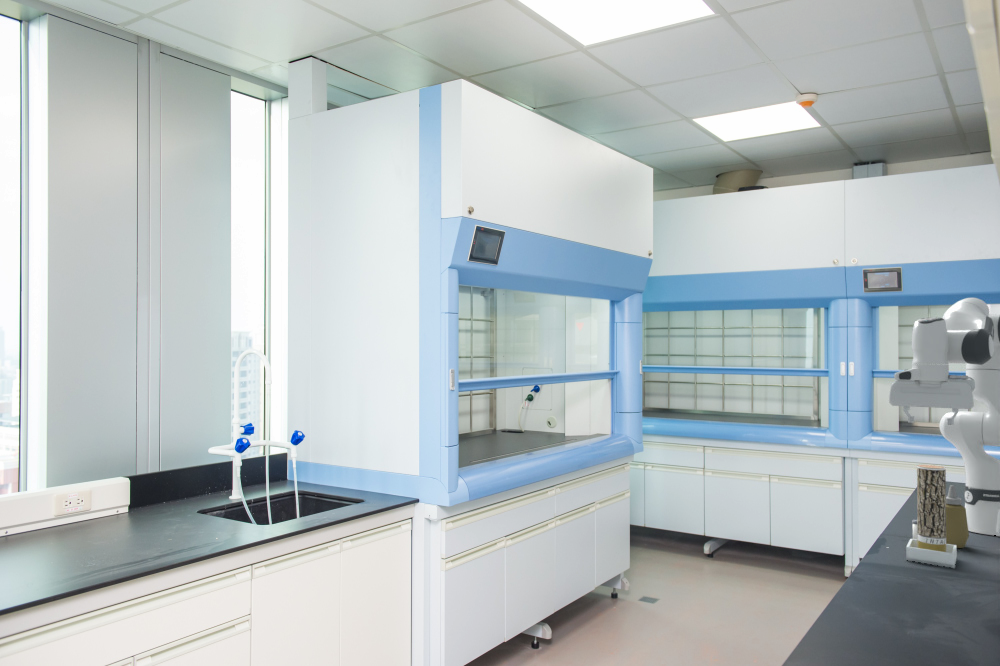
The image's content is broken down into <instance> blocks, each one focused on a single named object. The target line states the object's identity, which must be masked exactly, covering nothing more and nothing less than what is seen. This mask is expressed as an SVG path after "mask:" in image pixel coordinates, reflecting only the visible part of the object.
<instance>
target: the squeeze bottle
mask: <svg viewBox="0 0 1000 666" xmlns="http://www.w3.org/2000/svg"><path fill="white" fill-rule="evenodd" d="M956 490H957V489H956V486H955V485H949V488H948V493H947V495H946V544H951V545H957V549H963V548H965V547H966V545H967V542H968V539H969V538H970V534H969V532H970V531H968V524H967V516H966V508H965V506H964V505H963V503H962V502H963V499H962V498H960V497H958V494H957V491H956Z"/></svg>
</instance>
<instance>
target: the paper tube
mask: <svg viewBox="0 0 1000 666" xmlns="http://www.w3.org/2000/svg"><path fill="white" fill-rule="evenodd" d="M916 466H917V467H916V485H917V487H916V490H917V491H916V494H917V497H916V499H917V504H916V505H917V506H916V507H917V508H916V509H917V512H916V513H917V517H916V518H917V519H916V520H917V530H918V548H921V549H927V550H934V551H941V552H946V497H947V493H946V491H947V487H946V486H947V480H946V477H947V476H946V475H947V473H946V467H945V466H942V465H935V464H934V465H933V464H917V465H916Z"/></svg>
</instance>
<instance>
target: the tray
mask: <svg viewBox="0 0 1000 666" xmlns="http://www.w3.org/2000/svg"><path fill="white" fill-rule="evenodd" d="M905 549H906V550H905V551H906V553H905V554H906V556H905V557H906V560H908V561H907V562H912V561H915V562H914V563H918V562H921V563H920V564H924V563H927V564H926V565H930V564H932V566H937V565H938V567H943V566H945V567H944V568H949V567H951V569H956V565H955V564H957V560H956V559H957V558H958V557H957V553H958V551H957V549H958V548H957V545H951V544H946V552H941V551H934V550H927V549H921V548H918V540H916V539H913V538H910V539H909V540H908V542H907V544H906V547H905Z"/></svg>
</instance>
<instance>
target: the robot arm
mask: <svg viewBox="0 0 1000 666" xmlns="http://www.w3.org/2000/svg"><path fill="white" fill-rule="evenodd" d="M911 351H912V354H913V357H912V361H911V368H910V369H909V368H907V369H904V370H902V371H898V372H894V376H893V378H894V380H895V381H893V382H892V383H891V385H890V388H889V396H888V397H889V399H888V401H889V404H890V405H891V406H892V407H897V406H898V407H903V408H902V409H903V412H904V413H905V415H906V417H907V423H911V424H914V423H915V416H912V415H911V413H910V412H909V411H910V410H911V409H910V408H911V407H913V408H933V409H934V408H935V409H936V408H938V409H951V412H950V411H949V412H946V413H945V414H944V415H943V416H942V417H941V419H940V421H939V425H938V426H939V431H940V433H941V435H942V436H943V438H944V439H945V440H946V441H948V442H949V443H950V444H952V445H953V446H954V447H955V448H956V449H957V451H958V452H959V454H960V456H961V458H962V461H963V464H964V472H965V473H964V475H965V484H964V486H963V487H964V488H963V496H964V497H963V499H964V507H965V508H966V516H967V524H968V532H972V533H977V534H981V535H988V536H994V535H996V536H995V537H1000V459H998V458H996V457H995V456H992V455H990V454H988V453H987V452H986V451H985V449H984V447H985V446H988V447H1000V314H997V313H996V314H995V313H990V309H989V306H988V304H987V303H986V302H985V301H984V300H982V299H980V298H977V297H965V298H963V299H960V300H958V301H956V302H955V303H953V304H952V305H950V307H948V308H947V309H946V311H945V312H944V313H943V316H942V317H937V316H936V317H934V316H933V317H932V316H931V317H923V318H919V319H917V320H915V321H914V324H913V328H912V335H911ZM949 364H965V374H964V375H963V374H962V375H957V374H956V375H955V374H950V371H949V370H950V367H949V366H950V365H949ZM974 401H977V402H979V403H981V404H984V405H985V406H986V408H987V411H983V412H982V411H969V410H971V409H973V408H974V407H975V405H974V403H975V402H974ZM959 409H962V410H960V411H959ZM967 410H968V411H967Z"/></svg>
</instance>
